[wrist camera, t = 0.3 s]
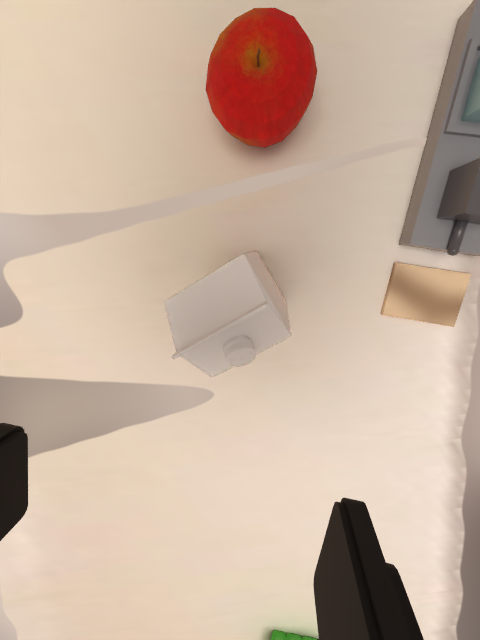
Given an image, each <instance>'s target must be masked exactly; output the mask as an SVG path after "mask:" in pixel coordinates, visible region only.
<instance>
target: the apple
mask: <svg viewBox="0 0 480 640" xmlns="http://www.w3.org/2000/svg"><path fill="white" fill-rule="evenodd" d="M316 75H317V67H316V62H315V56H314V50H313V45H312V43H311V42H310V40H309V38H308V36H307V35H306V33H305V32H304V30H303V29H302V27H301V26H300V25H299V23H298V22H297V20H296V19H295V17H294V16H291V15H289V14H287V13H285V12H283V11H281V10H278V9H276V8H254V9H252V10H250V11H248V12H246V13H245V14H243V15H241V16H239V17H237V18H235V19H234V20H233V21H232V23H231V24H230V25H229V26H228V27H227V28H226V29H225V30H224V31H223V32H222V33H221V34H220V36H219V38H218V40H217V42H216V44H215V46H214V48H213V51H212V53H211V56H210V60H209V64H208V73H207V82H206V92H207V95H208V99H209V102H210V105H211V109H212V112H213V113H214V115H215V116H216V117H217V119H218V120H219V121H220V123H221V124H222V126H223V127H224V128H225V130H226V131H228V132H229V133H230V134H231V135H232V136H234V137H235V138H237V139H239V140H240V141H242V142H244V143H245V144H247V145H252V146H259V147H267V146H270V145H273V144H275V143H278V142H281V141H283V140H284V139H285V138H286V137H287V136H288V135H289V134H290V133H291V132H292V131H293V130H294V129H295V128H296V126H297V125H298V123H299V121H300V120H301V118H302V116H303V115H304V113H305V111H306V109H307V107H308V105H309V103H310V101H311V98H312V96H313V91H314V85H315V80H316Z"/></svg>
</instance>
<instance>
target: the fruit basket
mask: <svg viewBox="0 0 480 640" xmlns="http://www.w3.org/2000/svg"><path fill="white" fill-rule="evenodd" d="M271 640H317V639H315V638H311V637H307V636H302V637H301V636H300V635H297V634H292V633H286V634H285V633H284V632H282V631H277V630H274V631H273V633H272V638H271Z"/></svg>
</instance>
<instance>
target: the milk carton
mask: <svg viewBox="0 0 480 640" xmlns="http://www.w3.org/2000/svg"><path fill="white" fill-rule="evenodd" d="M164 303H165V307H166V311H167V315H168V319H169V323H170V327H171V331H172V335H173V340H174V344H175V348H176V353H175V354H174V355H173V356H172V358H173V359H175V358H177V357H179V356H181V357H183V358H184V359H186V360H187V361H189V362H190V363H192V364H193V365H194V366H196V367H197V368H199V369H200V370H202V371H203V372H205V373H206V374H207V375H209V376H210V377H214V376H216V375H219V374H221V373H223V372H224V371H226V370H228V369H230V368H232V367H234V366H235V367H238V366H243V365H246V364H248V363H250V362H251V361H252V360H253V359H254V358H255V356H256V355H257V354H259V353H261V352H262V351H264V350H266V349H268V348H270V347H272V346H274V345H276V344H278V343H279V342H281V341H283V340H285V339H287V338H288V337H290V336H291V330H290V323H289V317H288V310H287V304H286V301H285V299H284V297H283V295H282V294H281V292H280V290H279V288H278V287H277V285H276V283H275V281H274V280H273V278H272V276H271V274H270V273H269V271H268V269H267V268H266V266H265V264H264V262H263V261H262V259H261V257H260V255H259V254H258V252H257V251H253V252H249V253H245V254H242V255H240V256H238V257H236V258H235V259H233V260H231V261H230V262H228V263H226V264H225V265H223V266H221V267H220V268H218V269H217V270H215V271H213V272H212V273H210V274H208V275H207V276H205V277H203V278H202V279H200V280H199V281H197V282H195V283H194V284H192V285H190V286H189V287H187V288H185V289H184V290H182V291H181V292H179V293H177V294H176V295H174V296H172V297H171V298H169V299H168V300H166V301H165V302H164Z"/></svg>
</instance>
